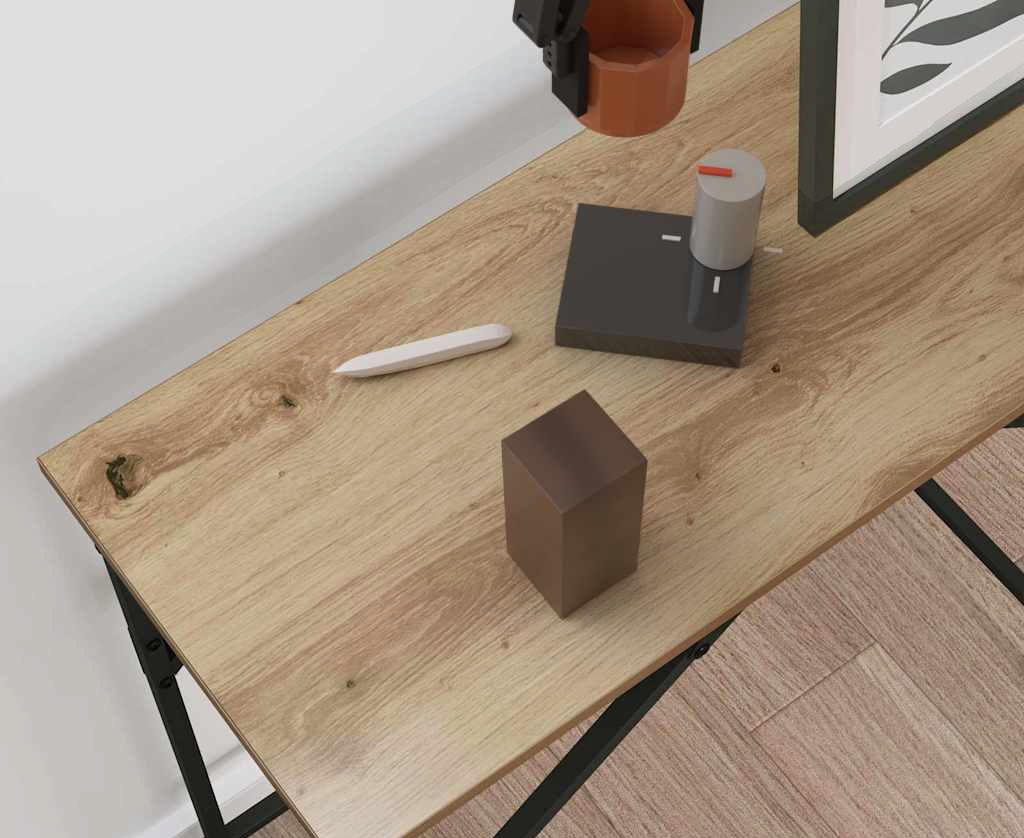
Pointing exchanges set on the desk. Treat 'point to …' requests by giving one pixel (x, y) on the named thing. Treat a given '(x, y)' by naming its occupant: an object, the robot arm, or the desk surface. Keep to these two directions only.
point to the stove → (649, 290)
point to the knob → (727, 208)
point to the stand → (573, 502)
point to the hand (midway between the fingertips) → (625, 70)
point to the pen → (426, 351)
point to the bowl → (636, 65)
